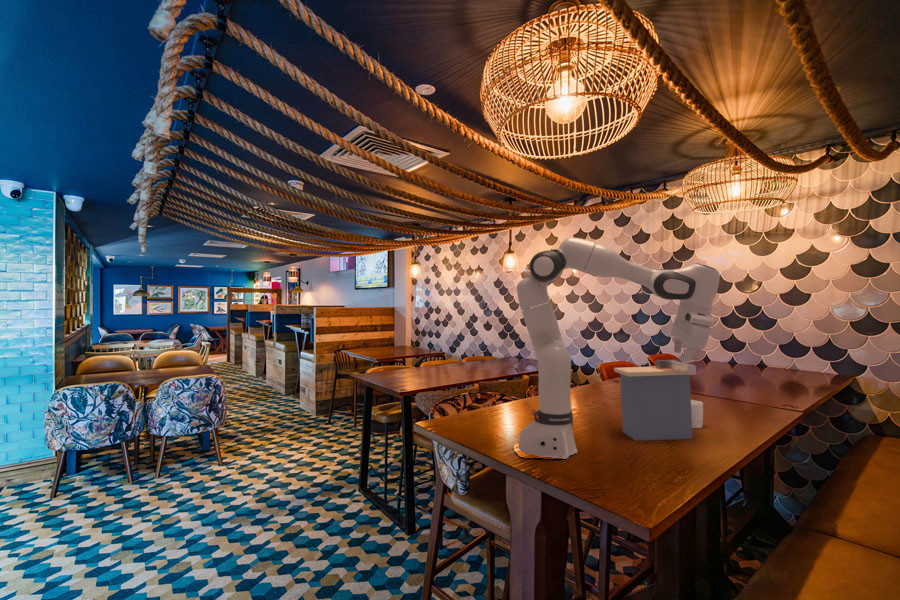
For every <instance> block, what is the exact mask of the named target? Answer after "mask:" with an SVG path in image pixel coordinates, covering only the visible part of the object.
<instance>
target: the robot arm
mask: <svg viewBox="0 0 900 600" xmlns="http://www.w3.org/2000/svg"><path fill="white" fill-rule="evenodd" d="M567 269H572V270H575V271H579V272H581V273H585V274H587V275H591V276H594V277H599V278H619V279H623V280H627V281H629V282H632V283H635V284H638V285H641V286H643V287H645V288H646V289H648V290H649V291H650V292H651V293H652V294H653V295H654V296H656V297H659V298H660V299H663V300H667V301H673V300H675V301H677V300H678V301H679V304H678V308H677V312H676V314H675V319H674V321H673V324H672V326H671V330H670V336H671V337H673V338H674V340H673V341H674V346H673V352H674V353H677V354H681V352H682V350H683V349H682V343H683V344H684V345H686V351H685V352H684V353H683V357H682V358H683V360H684V361H691V360H692V357H693V356H694V354H695V353H696V352H697V350H698V351H703V350H704V348H705V347H706V346H707V343H708V341H709V337H710V334H711V328H713V327H714V325H715V319H714V317H713V316H712V311H713V301H714V300H715V298H716V296H717V293H718V288H719V286H720V285H719V284H720V277H721V276H720V272H719V271H718V269H716V268H714V267H712V266H709V265H706V264H702V263H693V264H691V265H688V266H685V267H680V268H675V269H668V268H667V269H666V268H660V269H653V268H649V267H646V266H643V265H639V264H638V263H634V262H631V261H629V260H627V259H625V258H624V257H623V256H622V255H620V254H619V253H618V252H617V251H616V250H614V249H612V248H611V247H608V246H606V245H605V244H602V243H599V242H596V241H592V240H590V239H589V240H588V239H585V238H580V237H572V236H571V237H566V238H564V239H563V241H562V242H561V243H560V245H559V247H558V248H555V249H548V250H544V251H543V250H542V251H540V252H538V253H536V254H535V255H533V257H532V258H531V259H530V261H529V272H530V275H528V276H527V277H525V278H522V279H521V280H520V281H519V282H518V283H517V285H516V292H517V298H518V300H517V301H518V303H519V308H520V311H521V314H522V317H523V321H524V323H525V326H526V329H527V332H528V335H529V337H530V341H531V344H532V346H533V349H534V353H535V356H536V359H537V363H538V364H537V366H538V407H539V408H538V410H536V409H531V410H530V414H531V415H532V417H533V419H534V420H533V421H532V422H530V423H529V424H528V425H526V426H525V427H524V428H523V429H522V430H521V431H520V434H519V438H518V442H519V449H520V450H521V451H522V452H524V453H528V454H533V455H535V456H539V457H552V458H563V459H566V458H568V457H569V456H570V455H573V454H575V453H576V454H578V448H577V445H576V442H575V437H574V431H573V427H574V425H573V424H574V415H573V411H572V409H571V408H572V407H571V406H572V403H571V400H572V399H571V380H572V379H571V377H572V376H571V375H572V357H571V354H570V352H569V350H568V348H566V347H565V344H564V341H563V337H562V334H561V329H560V327H559V323H558V320H557V316H556V314H555V311H554V308H553V305H552V302H551V299H550V297H549V293H548V286H550V285H551V284H553V283H554V282H556V281H557V280H559V279H560V277H561V276H562V274H563V272H564V270H567ZM576 454H575V455H576ZM559 456H561V457H559ZM573 456H574V455H573ZM569 458H570V457H569ZM569 458H568V459H569Z"/></svg>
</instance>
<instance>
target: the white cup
mask: <svg viewBox="0 0 900 600" xmlns="http://www.w3.org/2000/svg"><path fill="white" fill-rule="evenodd" d="M691 415H692V429H702V428H703V426H704V425H703V423H704V422H703V420H704V402H702V401H700V400H695V399H694V400H693V399H691Z"/></svg>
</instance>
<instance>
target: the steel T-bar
mask: <svg viewBox="0 0 900 600" xmlns="http://www.w3.org/2000/svg"><path fill="white" fill-rule="evenodd" d="M655 366H656V368H659V369H670V370H674V371H678V372H682V373H685V374H691V375H697V370H696V369H697V367H696V365H694V364H691V363H686V362H683V361H682V362H681V361H680V360H679V359H655Z"/></svg>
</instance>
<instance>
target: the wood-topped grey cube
mask: <svg viewBox="0 0 900 600" xmlns="http://www.w3.org/2000/svg"><path fill="white" fill-rule="evenodd" d="M613 371H614V372H615V373H618V374H620V375H619V376H620V379H619V380H620V396H621V397H620V398H621V399H620V400H621V401H620V402H621V418H622V419H621V420H622V421H621V422H622V433H623V434H625V435H626V436H627V437H629V438H631V440H633V441H635V442H637V441H640V442H641V441H660V440H661V441H662V440H663V441H664V440H665V441H666V440H668V441H669V440H689V439H691V440H693V437H694V436H693V428H692V415H691V400H692V397H691V379H690V378H691V377H690V375H692V374H685V373H682V372H678V371H674V370H670V369H659V368H656V365H650V366H632V367H631V366H627V367H613Z"/></svg>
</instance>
